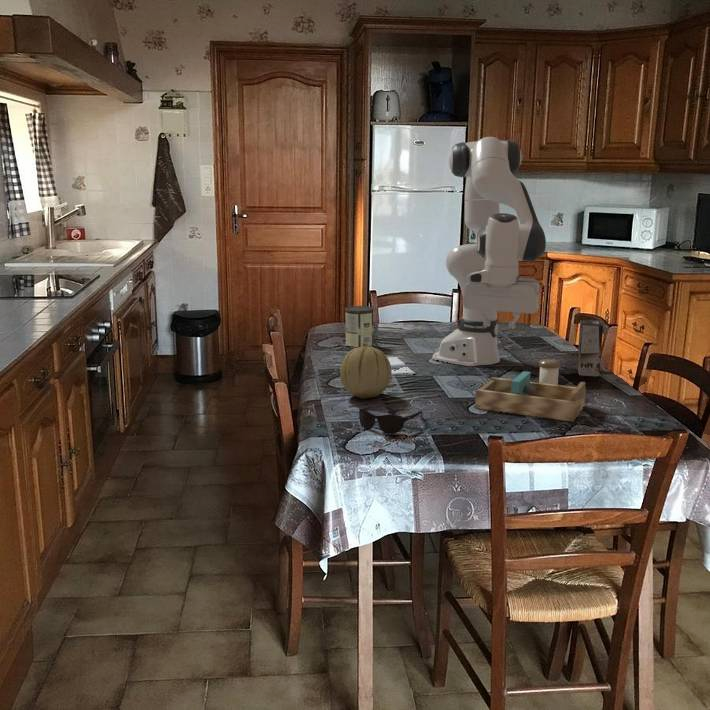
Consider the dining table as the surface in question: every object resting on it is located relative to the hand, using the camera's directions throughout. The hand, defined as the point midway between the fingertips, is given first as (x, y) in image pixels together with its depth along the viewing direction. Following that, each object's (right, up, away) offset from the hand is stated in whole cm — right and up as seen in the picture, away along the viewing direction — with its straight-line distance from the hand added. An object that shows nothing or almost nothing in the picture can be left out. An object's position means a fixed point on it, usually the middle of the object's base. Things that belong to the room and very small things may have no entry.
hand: (499, 327), depth 211 cm
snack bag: (-31, -13, +41) cm, 53 cm away
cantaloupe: (-36, -20, +11) cm, 42 cm away
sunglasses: (-29, -25, -12) cm, 40 cm away
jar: (+17, -18, +14) cm, 28 cm away
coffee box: (+35, -13, +36) cm, 52 cm away
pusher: (+7, -20, +1) cm, 22 cm away
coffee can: (-37, -5, +72) cm, 81 cm away
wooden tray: (+8, -22, +1) cm, 23 cm away
